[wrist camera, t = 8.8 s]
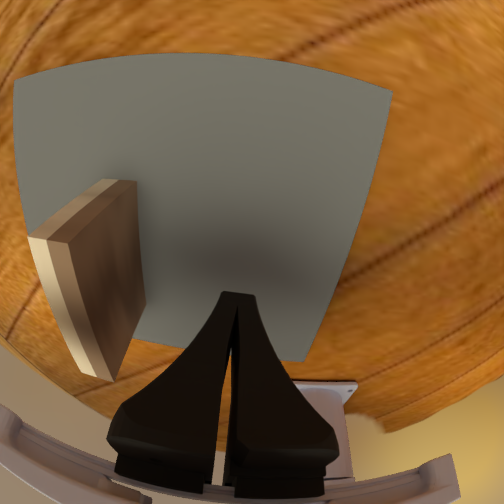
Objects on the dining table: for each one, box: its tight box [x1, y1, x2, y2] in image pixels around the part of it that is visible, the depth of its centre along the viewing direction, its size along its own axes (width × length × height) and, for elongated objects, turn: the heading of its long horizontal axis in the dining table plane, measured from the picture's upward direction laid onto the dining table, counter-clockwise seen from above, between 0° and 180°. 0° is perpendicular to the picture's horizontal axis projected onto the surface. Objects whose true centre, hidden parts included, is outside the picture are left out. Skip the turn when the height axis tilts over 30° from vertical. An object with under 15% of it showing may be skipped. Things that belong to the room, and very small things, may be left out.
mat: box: [13, 53, 393, 362], centre depth 14 cm, size 18×20×1 cm
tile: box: [28, 179, 146, 382], centre depth 12 cm, size 8×2×6 cm, turn 172°
